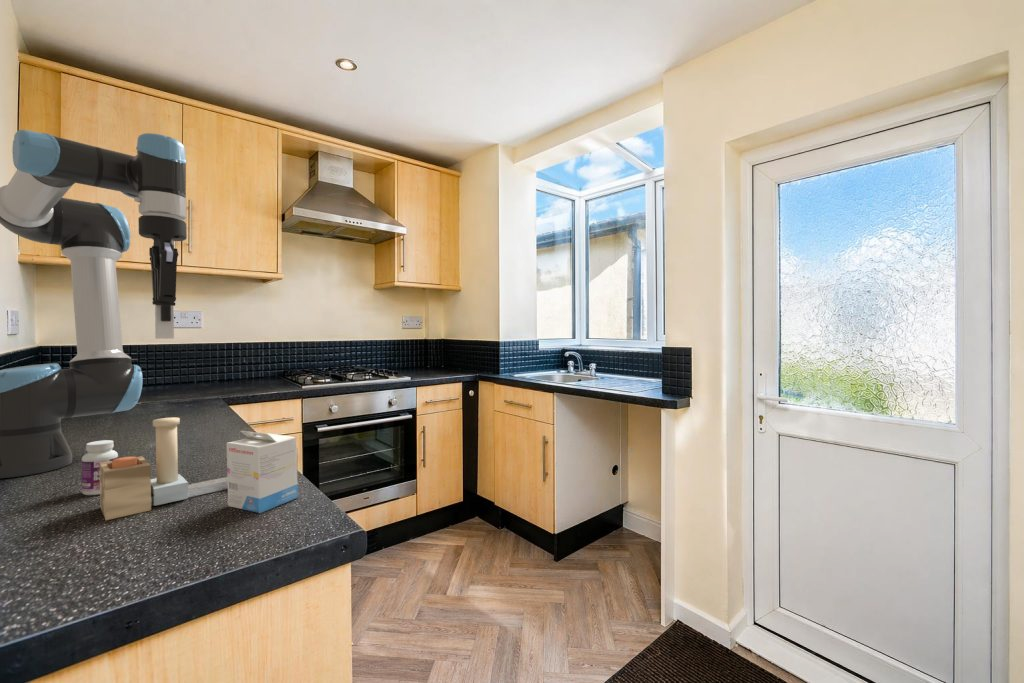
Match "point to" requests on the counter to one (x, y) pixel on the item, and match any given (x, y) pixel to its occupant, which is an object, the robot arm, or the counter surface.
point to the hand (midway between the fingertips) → (164, 338)
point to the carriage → (167, 464)
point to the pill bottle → (95, 464)
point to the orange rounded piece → (124, 462)
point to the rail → (205, 487)
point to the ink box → (261, 471)
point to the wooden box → (125, 489)
